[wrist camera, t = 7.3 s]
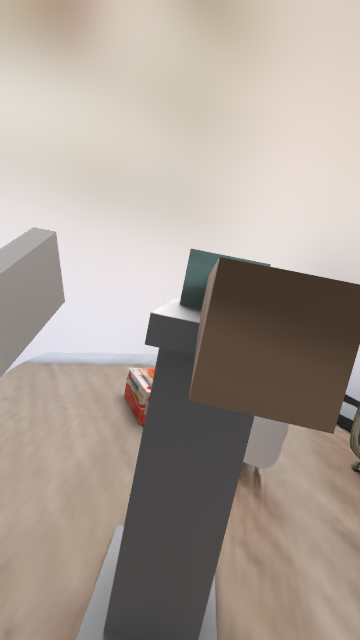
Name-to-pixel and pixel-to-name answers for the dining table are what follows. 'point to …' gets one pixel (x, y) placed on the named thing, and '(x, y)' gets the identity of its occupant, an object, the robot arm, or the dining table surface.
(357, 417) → the tabletop clock
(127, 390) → the medicine box
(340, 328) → the mallet
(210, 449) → the stand
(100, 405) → the dining table surface
